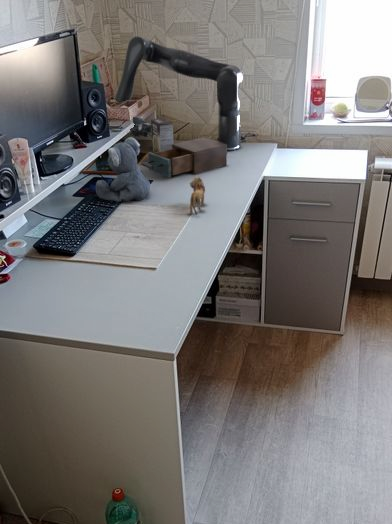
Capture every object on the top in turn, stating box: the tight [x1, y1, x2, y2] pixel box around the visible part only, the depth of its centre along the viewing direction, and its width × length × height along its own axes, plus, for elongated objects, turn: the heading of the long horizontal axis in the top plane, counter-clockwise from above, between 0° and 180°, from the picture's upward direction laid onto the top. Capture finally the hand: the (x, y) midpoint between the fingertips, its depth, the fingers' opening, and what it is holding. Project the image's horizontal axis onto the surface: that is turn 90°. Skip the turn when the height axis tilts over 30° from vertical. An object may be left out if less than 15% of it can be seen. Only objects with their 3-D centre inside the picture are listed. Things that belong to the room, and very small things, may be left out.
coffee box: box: [150, 117, 174, 154], centre depth 236 cm, size 9×6×16 cm
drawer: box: [140, 148, 193, 179], centre depth 223 cm, size 21×14×7 cm, turn 128°
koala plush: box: [95, 136, 151, 203], centre depth 200 cm, size 17×18×20 cm
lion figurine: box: [189, 176, 206, 216], centre depth 191 cm, size 15×5×9 cm, turn 0°
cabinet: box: [172, 136, 228, 175], centre depth 231 cm, size 17×15×9 cm
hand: (155, 132), depth 238 cm, fingers open, 8 cm apart
